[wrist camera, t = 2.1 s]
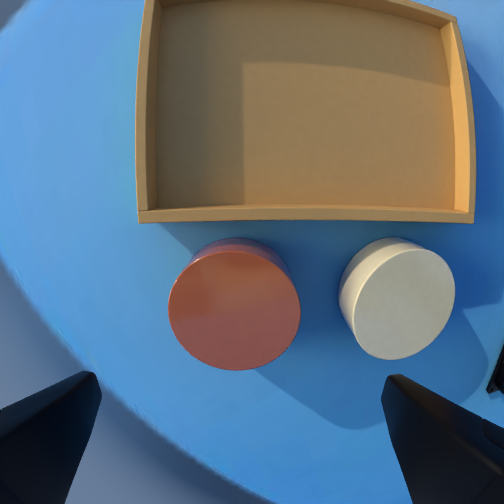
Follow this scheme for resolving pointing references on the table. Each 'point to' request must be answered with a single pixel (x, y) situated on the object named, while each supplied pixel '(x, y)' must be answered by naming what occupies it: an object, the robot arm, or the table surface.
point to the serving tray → (303, 112)
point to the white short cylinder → (396, 297)
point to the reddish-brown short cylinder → (235, 305)
